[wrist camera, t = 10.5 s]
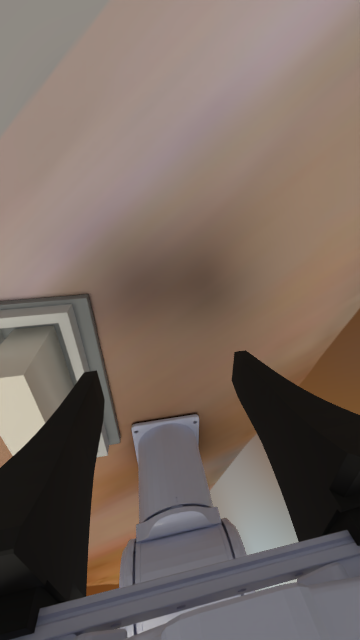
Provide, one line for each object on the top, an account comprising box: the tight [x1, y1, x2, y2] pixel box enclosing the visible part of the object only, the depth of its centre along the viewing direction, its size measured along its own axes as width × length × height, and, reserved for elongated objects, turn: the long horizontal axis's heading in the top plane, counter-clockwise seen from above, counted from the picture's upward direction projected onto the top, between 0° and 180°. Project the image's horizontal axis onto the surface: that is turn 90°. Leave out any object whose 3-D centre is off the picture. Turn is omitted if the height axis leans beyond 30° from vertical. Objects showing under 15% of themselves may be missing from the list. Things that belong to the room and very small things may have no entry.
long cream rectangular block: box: [0, 326, 74, 456], centre depth 20 cm, size 14×3×6 cm, turn 1°
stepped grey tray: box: [0, 294, 121, 457], centre depth 22 cm, size 18×9×2 cm, turn 1°
